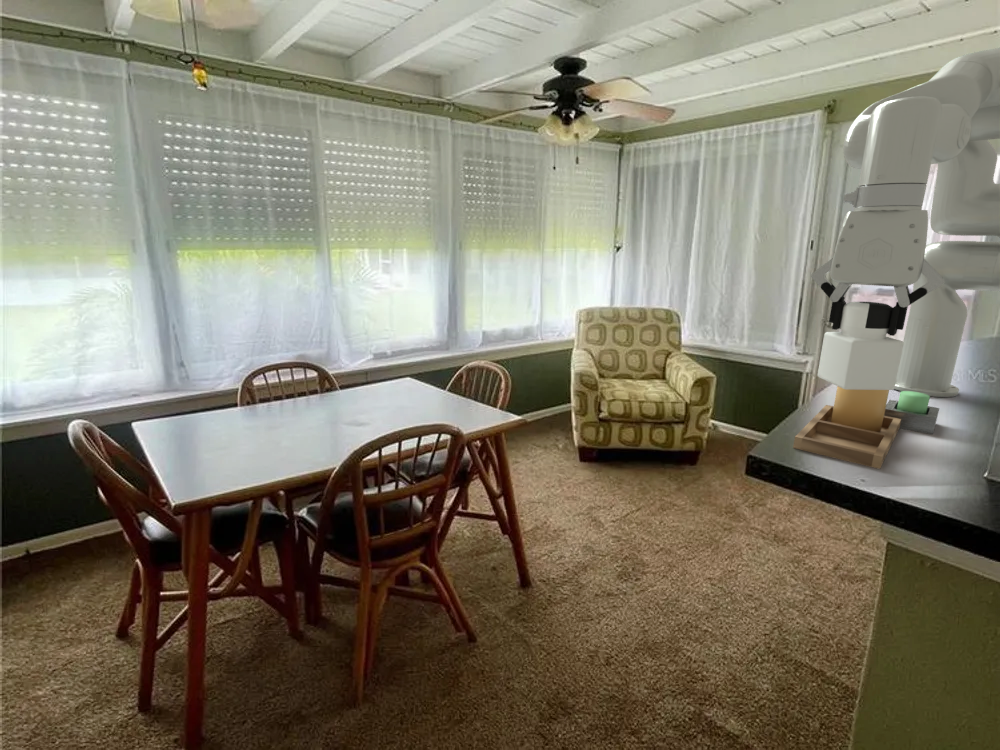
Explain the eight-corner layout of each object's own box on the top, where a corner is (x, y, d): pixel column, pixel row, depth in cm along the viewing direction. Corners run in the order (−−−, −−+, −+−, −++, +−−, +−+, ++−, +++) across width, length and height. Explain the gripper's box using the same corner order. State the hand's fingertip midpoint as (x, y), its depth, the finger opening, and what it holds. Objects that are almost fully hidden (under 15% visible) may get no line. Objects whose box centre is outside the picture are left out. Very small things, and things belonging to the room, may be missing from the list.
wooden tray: (823, 420, 95) (826, 404, 95) (897, 435, 88) (901, 419, 87) (792, 454, 80) (794, 436, 80) (878, 476, 73) (882, 456, 72)
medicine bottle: (862, 377, 81) (877, 299, 78) (895, 390, 74) (913, 306, 71) (816, 376, 81) (829, 299, 78) (844, 390, 74) (859, 305, 71)
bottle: (821, 422, 91) (834, 345, 87) (860, 421, 91) (874, 345, 88) (849, 437, 84) (864, 355, 81) (890, 436, 84) (908, 354, 81)
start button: (897, 411, 93) (901, 389, 92) (925, 416, 90) (930, 394, 89) (894, 416, 90) (899, 394, 89) (923, 422, 87) (928, 399, 86)
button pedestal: (885, 420, 96) (889, 399, 94) (934, 429, 91) (939, 408, 90) (879, 430, 90) (884, 408, 89) (930, 441, 86) (936, 418, 85)
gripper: (810, 201, 74) (790, 327, 78) (972, 196, 62) (938, 343, 67) (822, 203, 79) (803, 321, 84) (973, 199, 68) (942, 335, 73)
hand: (863, 330), depth 75 cm, fingers closed on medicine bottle, 6 cm apart
